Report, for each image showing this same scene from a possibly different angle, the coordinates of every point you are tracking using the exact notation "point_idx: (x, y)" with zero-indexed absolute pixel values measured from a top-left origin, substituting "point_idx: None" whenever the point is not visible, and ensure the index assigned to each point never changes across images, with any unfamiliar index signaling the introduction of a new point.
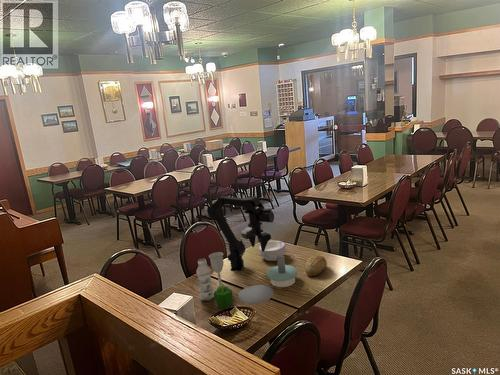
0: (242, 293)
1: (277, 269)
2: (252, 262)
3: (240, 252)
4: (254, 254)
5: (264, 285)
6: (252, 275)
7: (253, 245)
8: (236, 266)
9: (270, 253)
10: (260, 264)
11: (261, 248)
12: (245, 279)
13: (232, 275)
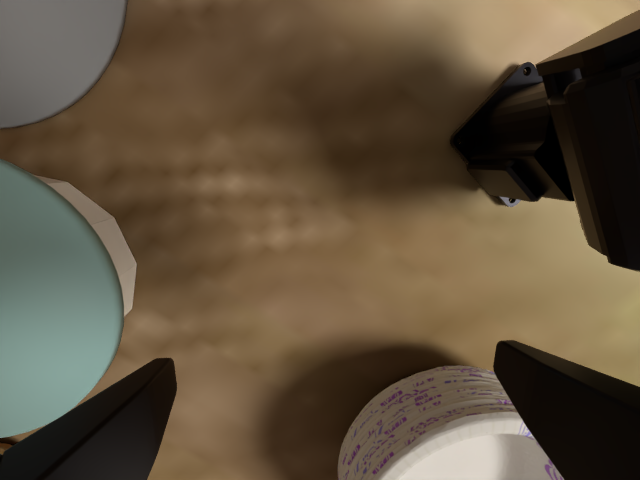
0: None
1: (28, 304)
2: (489, 282)
3: (588, 123)
4: (577, 362)
5: (49, 112)
6: (305, 155)
7: (513, 375)
8: (507, 104)
9: (383, 437)
10: (413, 306)
11: (123, 398)
12: (287, 65)
13: (440, 22)
